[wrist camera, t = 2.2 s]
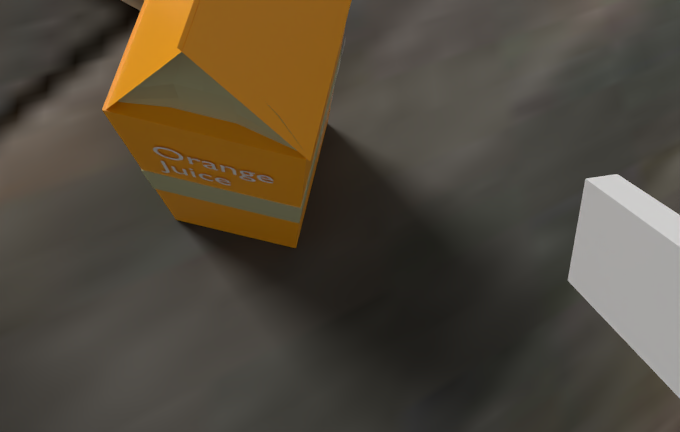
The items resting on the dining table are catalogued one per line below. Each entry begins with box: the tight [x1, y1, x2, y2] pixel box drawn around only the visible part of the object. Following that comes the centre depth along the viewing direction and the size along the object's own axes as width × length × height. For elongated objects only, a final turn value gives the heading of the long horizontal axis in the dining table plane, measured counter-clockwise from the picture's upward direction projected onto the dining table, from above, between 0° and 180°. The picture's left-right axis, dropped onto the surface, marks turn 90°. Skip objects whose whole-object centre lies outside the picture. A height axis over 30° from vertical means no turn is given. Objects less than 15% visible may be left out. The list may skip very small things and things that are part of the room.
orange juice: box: [102, 0, 351, 248], centre depth 25 cm, size 8×9×20 cm
